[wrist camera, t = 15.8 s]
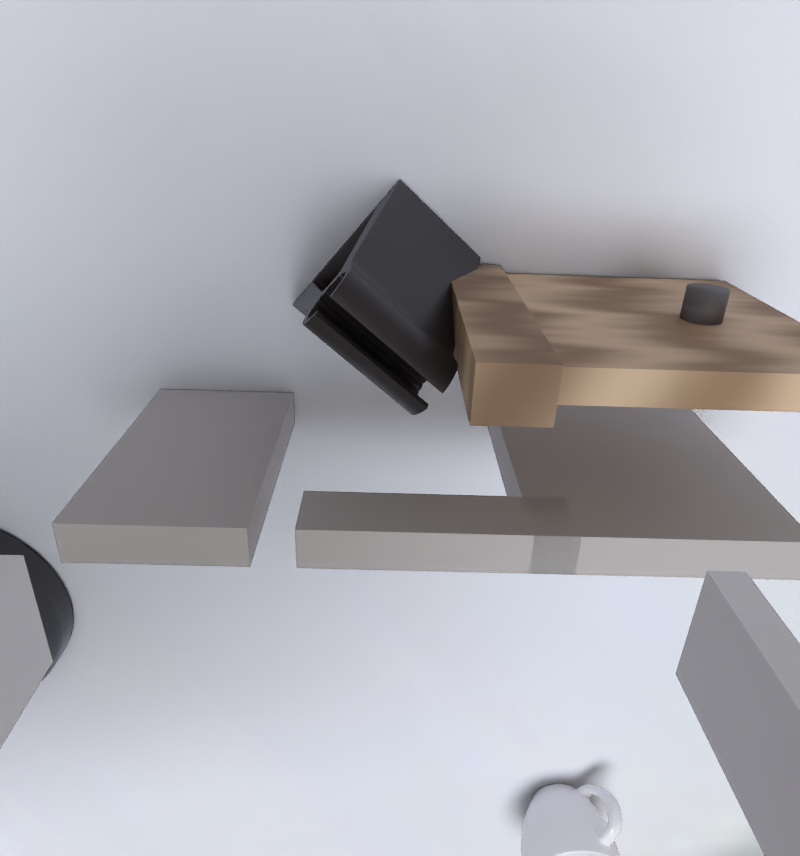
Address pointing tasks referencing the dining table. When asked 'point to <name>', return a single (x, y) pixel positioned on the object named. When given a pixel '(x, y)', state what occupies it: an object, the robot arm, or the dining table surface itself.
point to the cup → (570, 823)
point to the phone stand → (393, 298)
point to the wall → (435, 499)
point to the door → (617, 346)
